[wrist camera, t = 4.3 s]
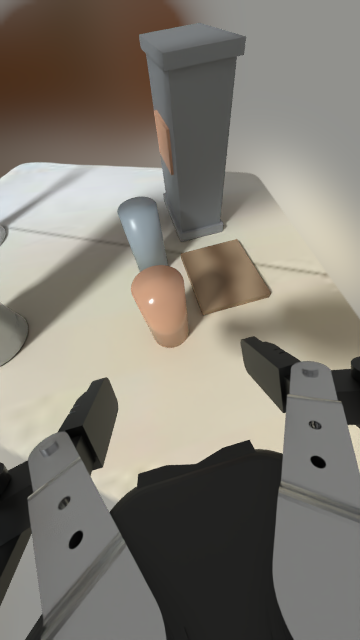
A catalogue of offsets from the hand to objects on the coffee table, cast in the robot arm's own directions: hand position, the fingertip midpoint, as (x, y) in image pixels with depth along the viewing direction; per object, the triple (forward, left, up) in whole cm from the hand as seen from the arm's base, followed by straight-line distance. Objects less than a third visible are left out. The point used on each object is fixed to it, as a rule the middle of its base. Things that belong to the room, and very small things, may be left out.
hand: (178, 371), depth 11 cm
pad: (+10, +16, -13) cm, 23 cm away
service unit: (+10, +33, -13) cm, 37 cm away
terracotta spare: (0, +9, -13) cm, 16 cm away
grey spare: (0, +22, -13) cm, 26 cm away
